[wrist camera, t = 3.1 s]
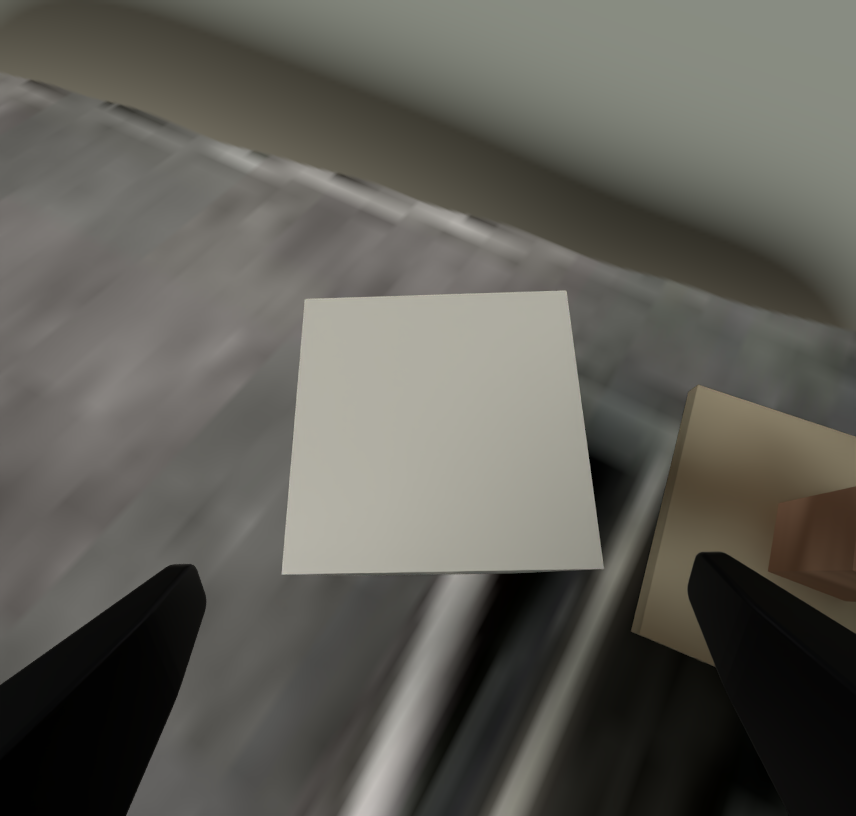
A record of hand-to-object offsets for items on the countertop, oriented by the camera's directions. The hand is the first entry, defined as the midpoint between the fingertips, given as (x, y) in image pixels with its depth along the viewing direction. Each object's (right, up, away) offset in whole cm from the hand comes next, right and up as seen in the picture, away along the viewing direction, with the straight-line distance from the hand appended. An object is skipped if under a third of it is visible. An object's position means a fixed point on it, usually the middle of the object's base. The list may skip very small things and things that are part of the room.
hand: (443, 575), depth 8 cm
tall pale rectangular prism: (0, -1, +10) cm, 10 cm away
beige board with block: (+14, -2, +9) cm, 17 cm away
